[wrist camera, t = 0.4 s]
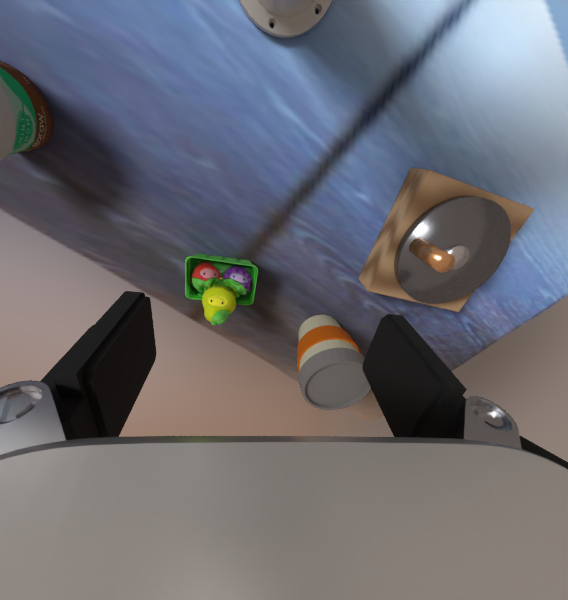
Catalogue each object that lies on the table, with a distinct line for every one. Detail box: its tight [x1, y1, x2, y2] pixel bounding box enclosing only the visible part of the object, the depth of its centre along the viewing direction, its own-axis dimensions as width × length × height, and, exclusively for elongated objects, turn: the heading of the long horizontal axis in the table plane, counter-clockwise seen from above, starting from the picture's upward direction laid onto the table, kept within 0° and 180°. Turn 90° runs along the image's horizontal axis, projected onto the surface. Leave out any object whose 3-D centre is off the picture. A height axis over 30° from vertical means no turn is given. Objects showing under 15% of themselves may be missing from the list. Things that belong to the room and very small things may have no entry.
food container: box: [0, 61, 53, 161], centre depth 29 cm, size 12×6×10 cm, turn 158°
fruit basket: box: [185, 254, 258, 325], centre depth 42 cm, size 11×9×11 cm
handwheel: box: [394, 195, 511, 304], centre depth 39 cm, size 18×18×9 cm
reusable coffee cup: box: [297, 315, 371, 410], centre depth 50 cm, size 13×13×15 cm
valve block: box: [358, 167, 534, 312], centre depth 45 cm, size 20×20×5 cm
